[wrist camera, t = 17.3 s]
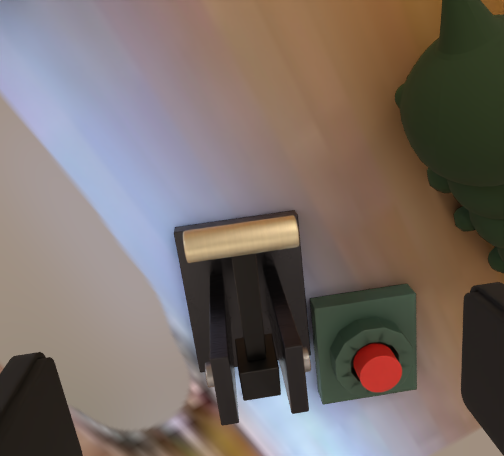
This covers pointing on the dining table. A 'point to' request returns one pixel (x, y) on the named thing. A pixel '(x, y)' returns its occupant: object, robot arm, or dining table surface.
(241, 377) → the press lever
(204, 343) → the lever bracket
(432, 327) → the dining table surface
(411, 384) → the console
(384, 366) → the button
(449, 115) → the green bumpy upright shape
